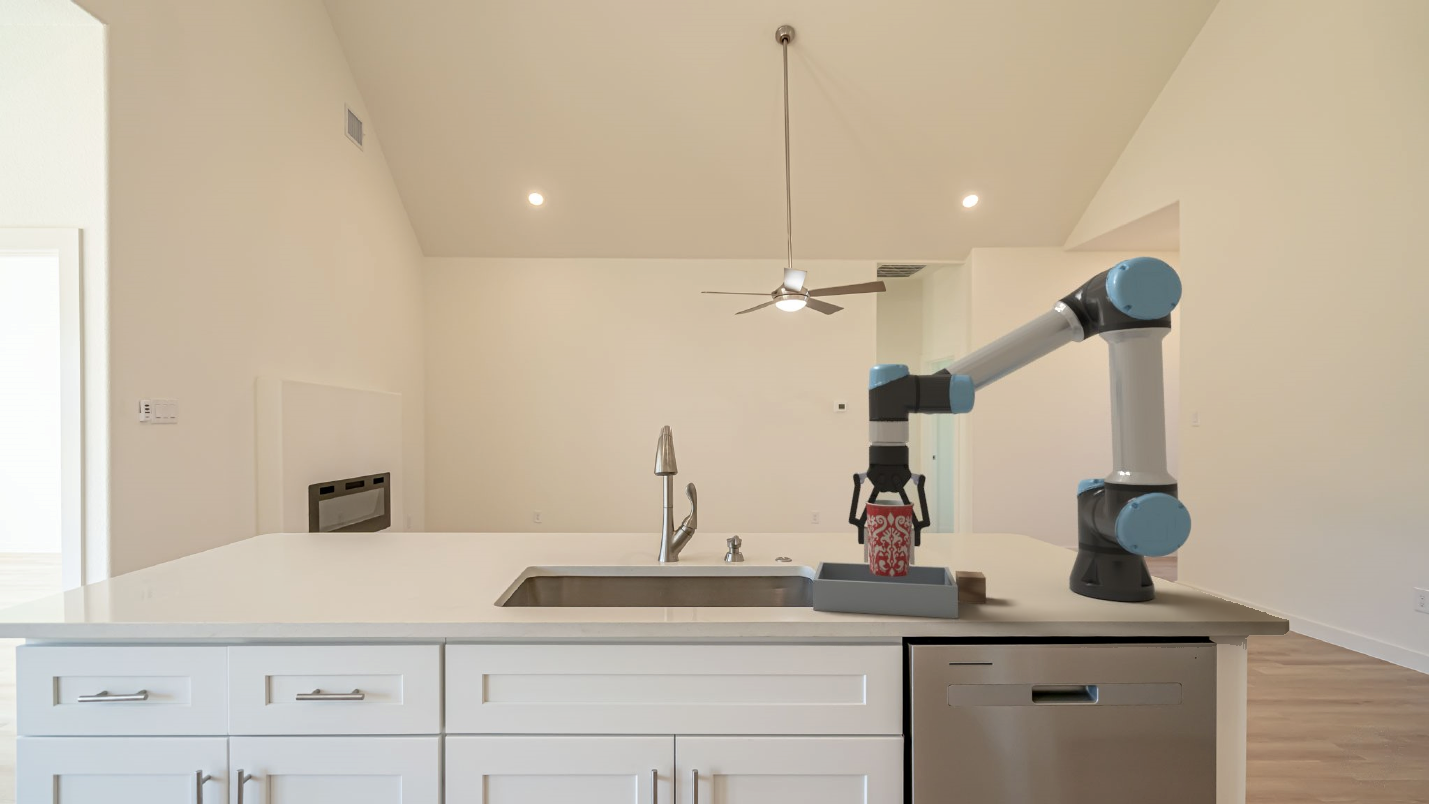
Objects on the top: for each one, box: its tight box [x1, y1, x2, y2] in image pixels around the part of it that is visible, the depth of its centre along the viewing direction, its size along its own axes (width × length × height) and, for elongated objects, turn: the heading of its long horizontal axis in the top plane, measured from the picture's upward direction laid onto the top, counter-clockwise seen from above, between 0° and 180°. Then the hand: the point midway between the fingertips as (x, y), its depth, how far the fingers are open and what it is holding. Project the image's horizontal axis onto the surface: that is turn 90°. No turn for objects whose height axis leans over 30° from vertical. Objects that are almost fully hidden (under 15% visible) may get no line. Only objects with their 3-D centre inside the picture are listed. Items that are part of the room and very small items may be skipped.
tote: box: [812, 561, 959, 619], centre depth 137 cm, size 26×17×6 cm, turn 77°
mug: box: [865, 498, 915, 577], centre depth 137 cm, size 13×9×14 cm
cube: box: [955, 570, 987, 604], centre depth 139 cm, size 5×5×5 cm
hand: (889, 562), depth 137 cm, fingers closed on mug, 8 cm apart
